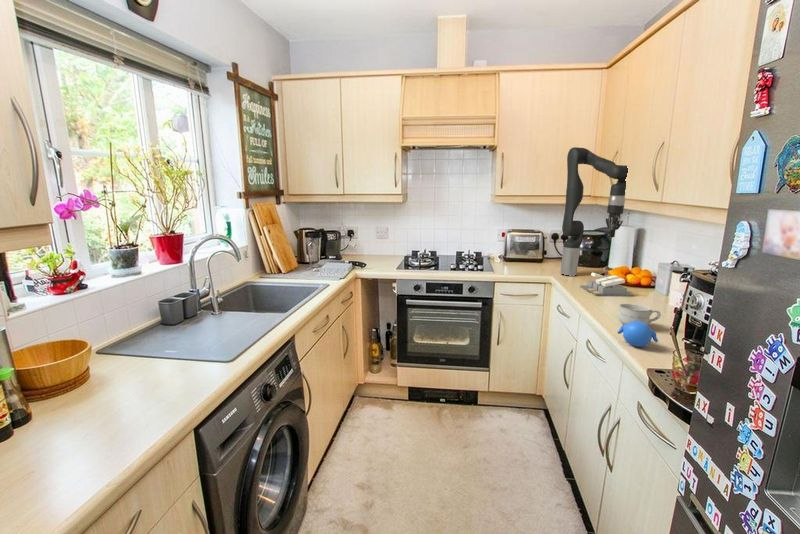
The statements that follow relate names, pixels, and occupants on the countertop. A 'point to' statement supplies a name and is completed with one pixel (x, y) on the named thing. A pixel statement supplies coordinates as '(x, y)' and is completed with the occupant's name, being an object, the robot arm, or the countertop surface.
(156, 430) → the countertop surface
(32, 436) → the countertop surface
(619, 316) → the teacup
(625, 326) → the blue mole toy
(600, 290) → the switch unit
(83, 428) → the countertop surface
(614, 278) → the rocker
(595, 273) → the rocker
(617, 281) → the rocker
